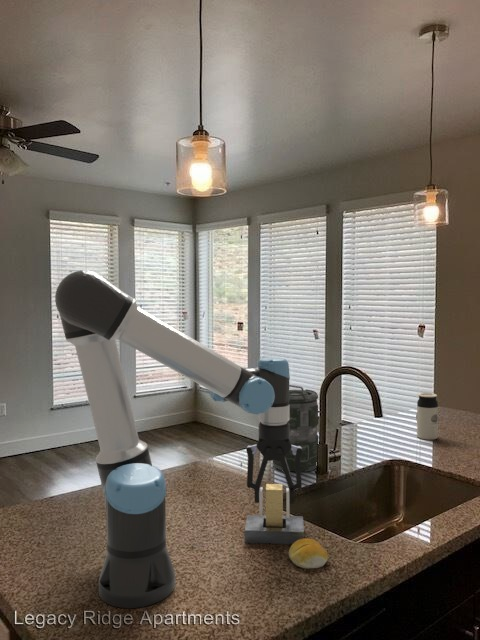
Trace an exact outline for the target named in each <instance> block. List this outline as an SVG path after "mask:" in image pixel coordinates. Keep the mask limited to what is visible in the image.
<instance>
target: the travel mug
mask: <svg viewBox="0 0 480 640" xmlns="http://www.w3.org/2000/svg"><path fill="white" fill-rule="evenodd" d="M417 395H418V400H417V401H416V402H417V403H416V405H417V408H416V409H417V410H416V411H417V412H416V413H417V415H416V416H417V417H416V419H417V421H416V437H418V439H421V440H426V441H428V440H429V441H434V440H436V439H438V437H439V436H438V435H439V433H438V430H439V429H438V425H439V424H438V423H439V421H438V418H439V416H438V413H439V410H438V409H439V407H438V405H439V402H438V401H437V397H438V394H435V393H433V392H432V393H431V392H421V393H417Z"/></svg>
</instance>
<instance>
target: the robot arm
mask: <svg viewBox="0 0 480 640" xmlns="http://www.w3.org/2000/svg"><path fill="white" fill-rule="evenodd" d="M54 301H55V303H54V304H55V307H56V309H57V311H58V314H59V317H60V321H61V324H62V325H61V326H62V329H63V333H64V337H65V340H66V341H67V342H69V344H71V345H73V346H74V347H75V350H76V355H77V360H78V363H79V367H80V372H81V376H82V379H83V383H84V388H85V392H86V396H87V399H88V403H89V407H90V413H91V417H92V420H93V424H94V428H95V434H96V438H97V441H98V445H99V448H100V450H99V453H97V456H96V457H95V463H96V466H97V471H98V476H99V479H100V485H101V489H102V492H103V497H104V503H105V505H104V506H105V513H106V514H105V518H106V555H105V558H104V562H103V565H102V568H101V571H100V575H99V577H98V595H99V597H100V599H101V600H102V601H103V602H104V603H106V604H108V605H110V606H113V607H117V608H121V609H122V608H123V609H136V608H143V607H149V606H150V605H154V604H156V603H159V602H161V601H162V600H165V599H166V598H167V597H169V596H170V595H171V593H173V591H174V590H175V587H176V572H175V568H174V565H173V563H172V562H173V561H172V560H171V557H170V554H169V550H168V547H167V532H166V531H167V528H166V527H167V526H166V525H167V523H166V522H167V521H166V516H167V514H166V494H167V485H166V484H167V483H166V480H165V479H166V478H165V475H164V473H163V471H162V470H161V469H160V468H158V467H157V466H155V465H153V464H152V460H151V455H150V450H149V446H148V443H146V442H145V441H143V440H141V439H140V438H139V433H138V431H137V429H138V428H137V425H136V422H135V417H134V413H133V409H132V405H131V401H130V400H131V399H130V396H129V392H128V387H127V383H126V380H125V374H124V371H123V367H122V366H123V365H122V362H121V358H120V354H119V350H118V345H117V340H118V341H121V342H122V343H124V344H125V345H128V346H129V347H131V348H133V349H135V350H137V351H138V352H140V353H142V354H144V355H145V356H147V357H149V358H151V359H152V360H155V361H156V362H158V363H159V364H161V365H163V366H166V367H168V368H169V369H171V370H173V371H174V372H177V373H178V374H180V375H182V376H184V377H185V378H186V379H189V380H191V381H193V382H194V383H196V384H198V385H200V386H202V387H204V389H207V390H208V391H209V396H210V398H211V400H212V401H213V402H222V403H225V402H230V403H232V404H233V405H235V406H237V407H239V408H240V409H242V410H243V411H244V412H246V413H248V414H252V415H258V421H259V423H258V440H257V442H256V444H253V445H251V444H248V445H247V446H246V454H247V457H248V459H247V460H248V462H247V479H246V481H247V482H246V487H247V488H249V489H250V488H251V489H253V491H254V503H255V504H258V512H259V513H258V515H259V518H262V517H263V515H264V496H263V495H264V492H263V491H264V487H262V486H261V484H262V483H263V482H262V481H263V478H264V475H265V471H266V468H267V465H268V462H273V460H276V461H280V462H281V465H282V468H283V471H282V472H283V474H284V477H285V481H286V483H287V487H286V488H285V489H286V492H285V493H286V495H285V499H286V500H285V501H286V502H285V503H286V505H285V507H286V509H285V510H286V513H285V514H286V515H285V516H286V518H290V516H291V514H290V513H291V512H290V505H291V504H292V505H294V503H295V491H296V490H298V489H299V490H301V489H302V486H303V485H302V483H303V482H302V471H301V467H300V456H301V453H302V447H301V446H294V445H292V444H291V442H290V424H289V423H288V421H289V390H290V387H289V385H290V378H291V377H290V365H289V361H288V360H287V359H286V358H282V357H262V358H260V359H259V360H258V361H257V363H258V364H257V366H255V367H242V366H241V365H238V364H237V363H235V362H234V361H232V360H231V359H228V358H226V356H223V355H222V354H220V353H218V352H217V351H215V350H213V349H212V348H211V347H210V348H209V347H208V346H206V345H205V344H203V343H202V342H199V341H198V340H196V339H194V338H193V337H191V336H189V335H188V334H185V332H182V331H180V330H179V329H177V328H175V327H174V326H172V325H170V324H168V323H167V322H165V321H163V320H162V319H160V318H159V317H157V316H155V315H153V314H151V313H150V312H148V311H147V310H145V309H143V308H141V307H139V306H138V305H137V302H136V298H135V297H132V296H130V295H129V294H128V293H126V292H125V291H123V290H122V289H120V288H119V287H117V286H116V285H115V284H114V283H112V282H111V281H110V280H108V278H106V277H105V275H102V274H101V273H98V272H96V271H93V270H88V269H82V270H77V271H73V272H71V273H69V274H67V275H66V276H65V277H64V278H62V279H61V281H60V282H59V285H58V286H57V288H56V290H55V295H54ZM257 450H258V451H259V453H260V454H261V456H262V460H261V463H260V467H259V471H258V472H257V476H256V479H255V481H254V461H255V455H256V453H257ZM290 450H292V451H293V455H295V467H296V471H295V480H296V481H295V482H294V481H293V477H292V473H291V471H289V467H288V464H287V461H286V457H285V456H286V455H287V454H288V452H289V451H290Z"/></svg>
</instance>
